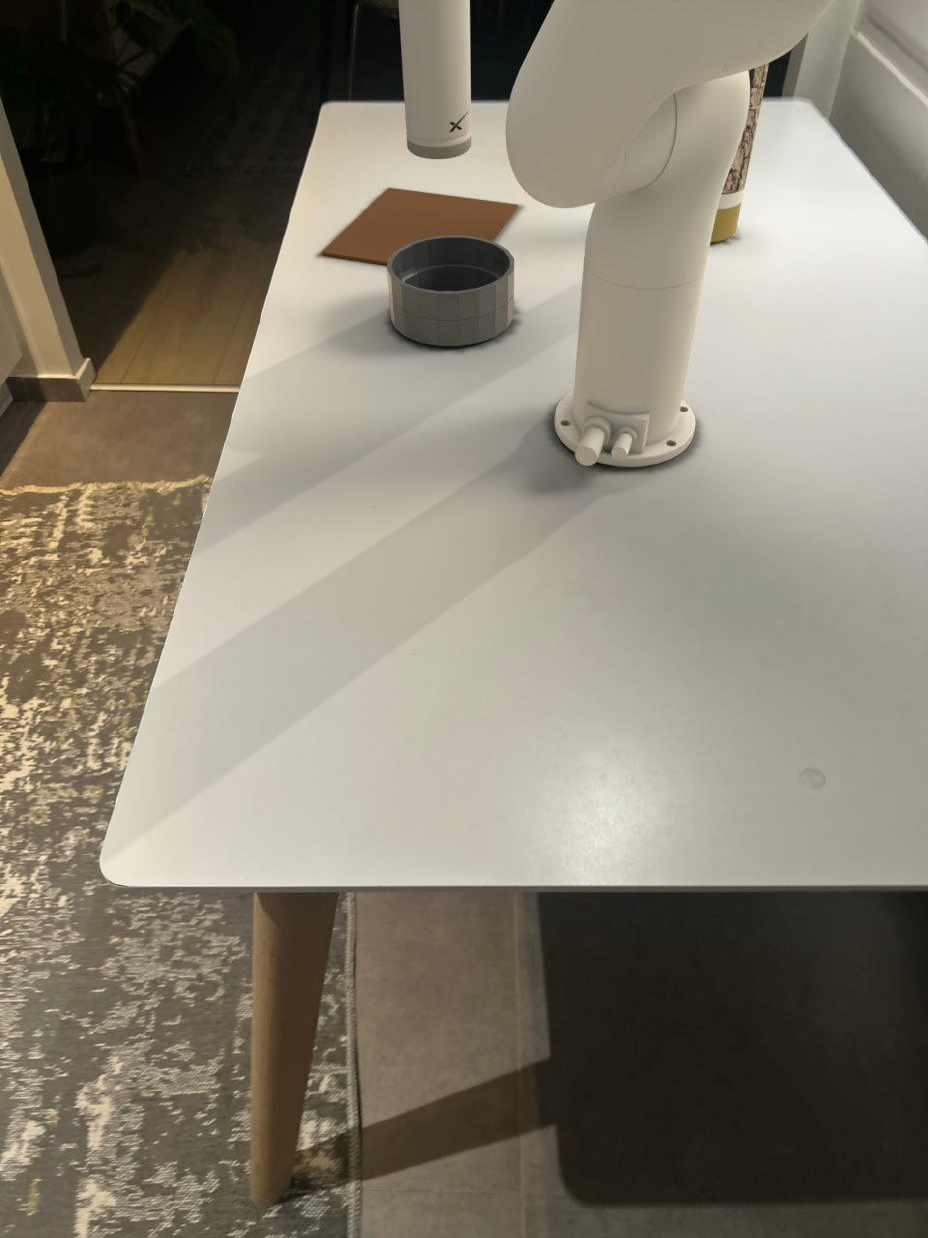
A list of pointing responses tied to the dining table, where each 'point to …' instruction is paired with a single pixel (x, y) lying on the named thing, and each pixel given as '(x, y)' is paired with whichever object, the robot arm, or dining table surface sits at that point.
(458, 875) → the dining table surface
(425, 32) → the travel mug
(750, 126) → the paper tube
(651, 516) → the dining table surface
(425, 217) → the cork mat
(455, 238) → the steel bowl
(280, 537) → the dining table surface
